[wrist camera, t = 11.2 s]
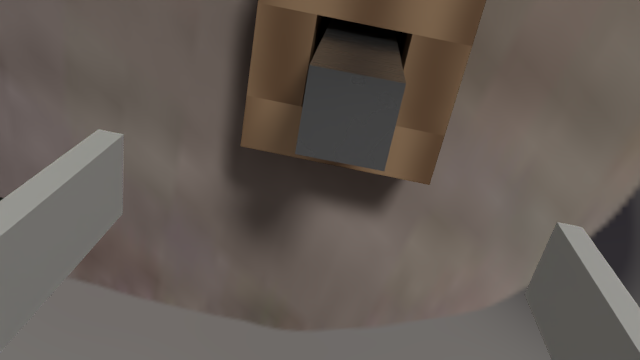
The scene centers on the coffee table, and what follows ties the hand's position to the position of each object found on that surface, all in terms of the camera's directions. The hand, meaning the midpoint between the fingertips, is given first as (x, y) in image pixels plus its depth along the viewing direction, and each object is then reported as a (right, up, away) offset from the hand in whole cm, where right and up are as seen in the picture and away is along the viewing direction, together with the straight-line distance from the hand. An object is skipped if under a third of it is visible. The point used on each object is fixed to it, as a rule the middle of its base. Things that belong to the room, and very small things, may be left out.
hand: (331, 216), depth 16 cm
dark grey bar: (+2, +10, +22) cm, 24 cm away
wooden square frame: (+2, +10, +22) cm, 24 cm away
